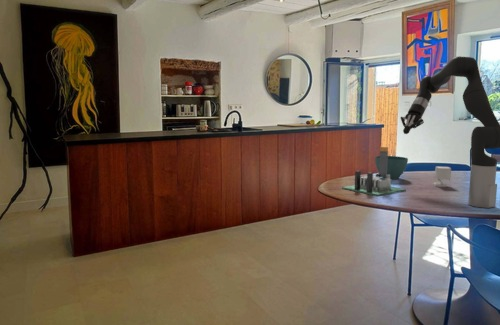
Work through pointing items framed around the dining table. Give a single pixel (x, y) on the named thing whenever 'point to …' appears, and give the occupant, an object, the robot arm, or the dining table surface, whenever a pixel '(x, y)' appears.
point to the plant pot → (393, 166)
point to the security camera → (442, 175)
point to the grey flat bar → (383, 162)
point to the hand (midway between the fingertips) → (405, 133)
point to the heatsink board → (373, 185)
